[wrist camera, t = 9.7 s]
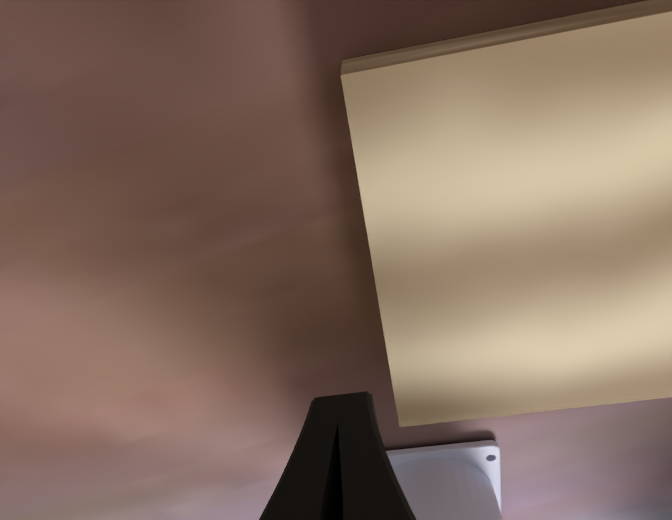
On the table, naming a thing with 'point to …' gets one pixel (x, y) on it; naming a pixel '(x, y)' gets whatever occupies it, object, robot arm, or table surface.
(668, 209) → the beige square tray
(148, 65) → the table surface
